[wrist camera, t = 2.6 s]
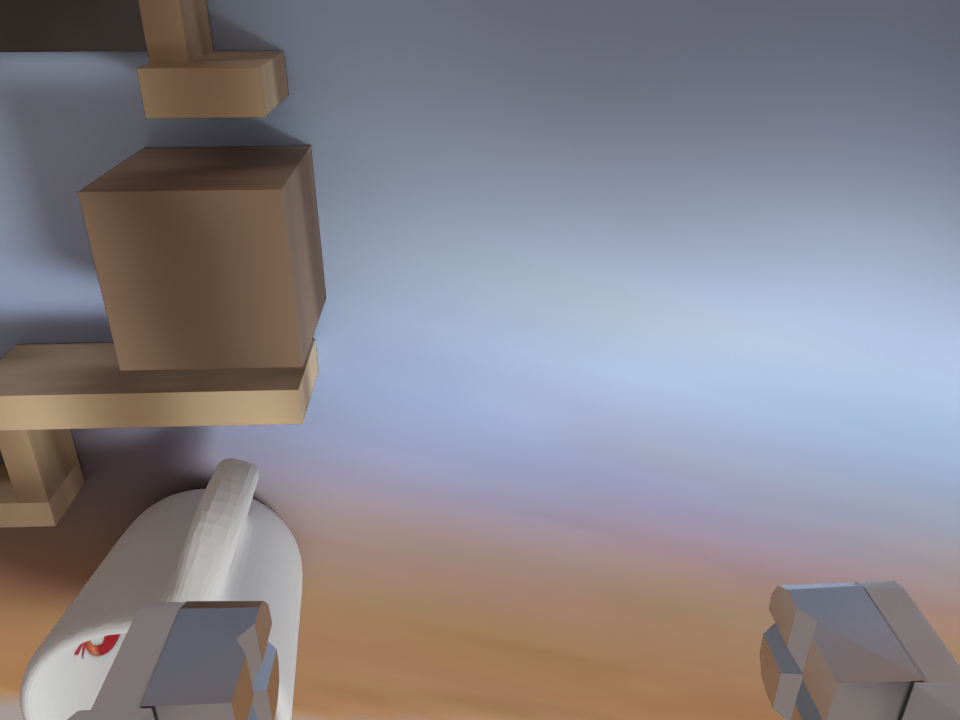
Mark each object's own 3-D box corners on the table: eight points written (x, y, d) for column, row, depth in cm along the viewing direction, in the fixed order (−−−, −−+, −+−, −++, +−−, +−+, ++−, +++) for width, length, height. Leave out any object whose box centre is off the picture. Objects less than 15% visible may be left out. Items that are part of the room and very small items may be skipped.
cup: (150, 368, 28) (48, 514, 20) (371, 434, 29) (348, 592, 22) (99, 592, 32) (0, 775, 25) (293, 638, 34) (253, 824, 27)
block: (311, 144, 24) (281, 189, 20) (326, 296, 27) (302, 366, 22) (145, 146, 24) (77, 192, 20) (175, 299, 27) (120, 370, 22)
